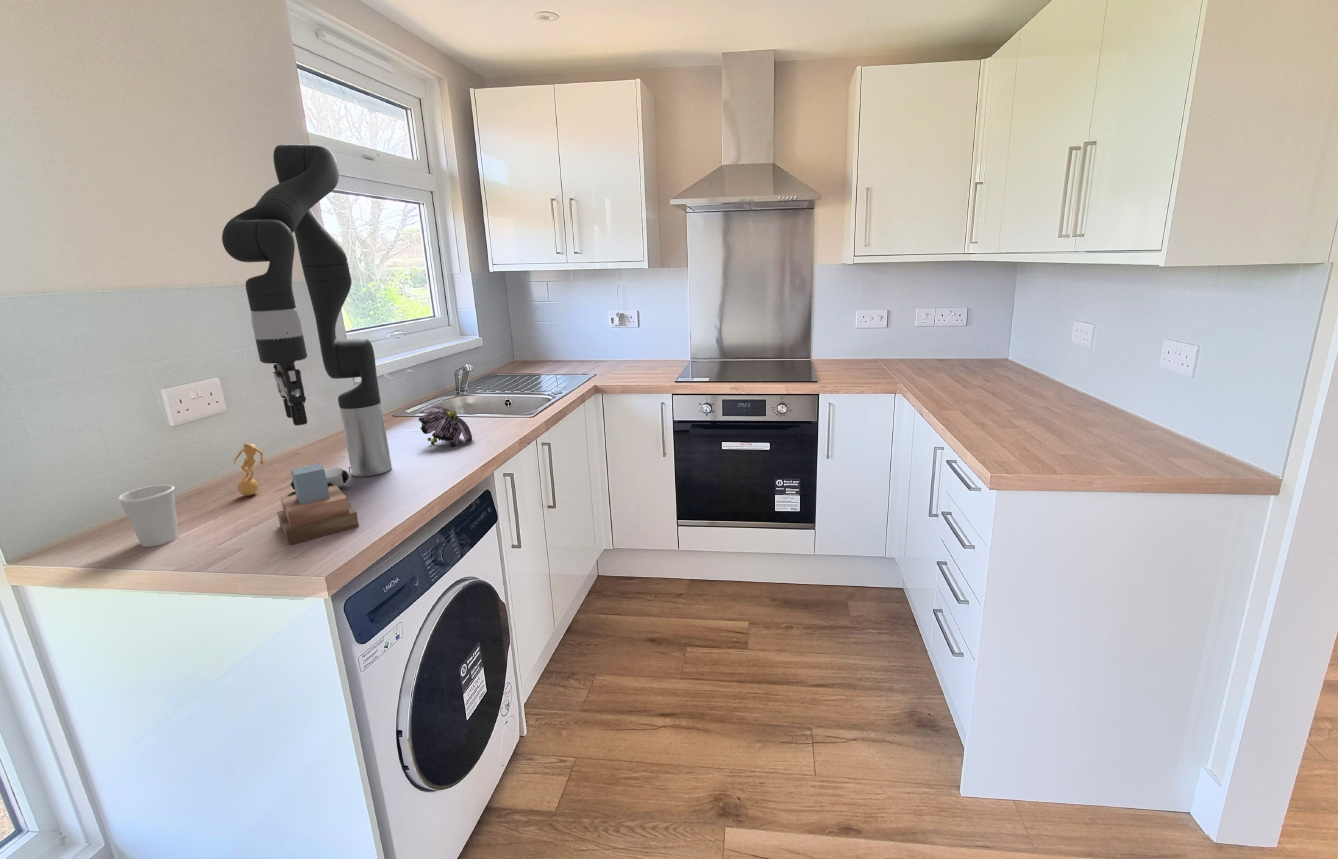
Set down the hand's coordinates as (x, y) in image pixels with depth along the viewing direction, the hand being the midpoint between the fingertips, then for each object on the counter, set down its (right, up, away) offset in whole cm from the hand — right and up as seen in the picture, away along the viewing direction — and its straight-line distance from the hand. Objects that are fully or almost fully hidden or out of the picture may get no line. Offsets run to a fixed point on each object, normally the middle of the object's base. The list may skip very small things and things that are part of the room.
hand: (297, 420), depth 116 cm
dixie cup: (-28, -23, +2) cm, 36 cm away
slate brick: (+1, -15, +4) cm, 16 cm away
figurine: (-26, -17, +26) cm, 40 cm away
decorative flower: (+7, -6, +61) cm, 61 cm away
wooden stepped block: (+1, -21, +6) cm, 22 cm away
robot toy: (-9, -17, +23) cm, 30 cm away
